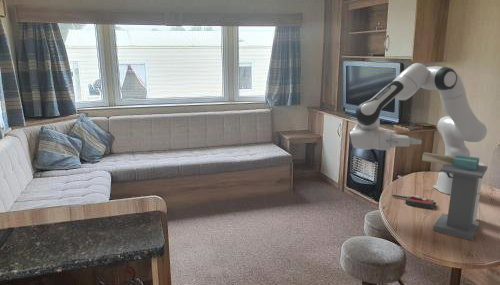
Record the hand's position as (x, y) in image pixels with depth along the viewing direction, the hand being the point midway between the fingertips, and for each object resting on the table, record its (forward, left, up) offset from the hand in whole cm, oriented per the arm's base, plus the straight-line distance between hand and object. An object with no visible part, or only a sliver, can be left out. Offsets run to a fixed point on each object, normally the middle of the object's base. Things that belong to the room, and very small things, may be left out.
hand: (420, 141), depth 162 cm
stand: (+5, +18, -33) cm, 38 cm away
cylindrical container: (-9, +20, -33) cm, 40 cm away
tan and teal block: (+3, +12, -7) cm, 15 cm away
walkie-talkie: (-13, -4, -34) cm, 37 cm away
